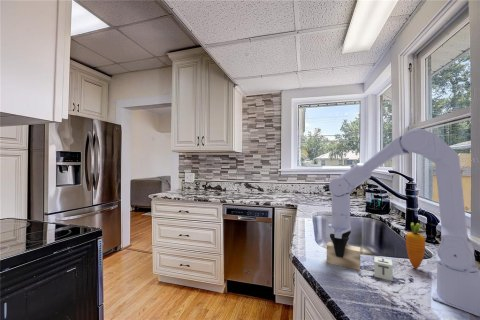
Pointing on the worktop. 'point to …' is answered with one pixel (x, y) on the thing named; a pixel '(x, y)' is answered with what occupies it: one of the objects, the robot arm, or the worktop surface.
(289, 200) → the worktop surface
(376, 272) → the lettered cube
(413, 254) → the carrot
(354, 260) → the beech block
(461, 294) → the robot arm
